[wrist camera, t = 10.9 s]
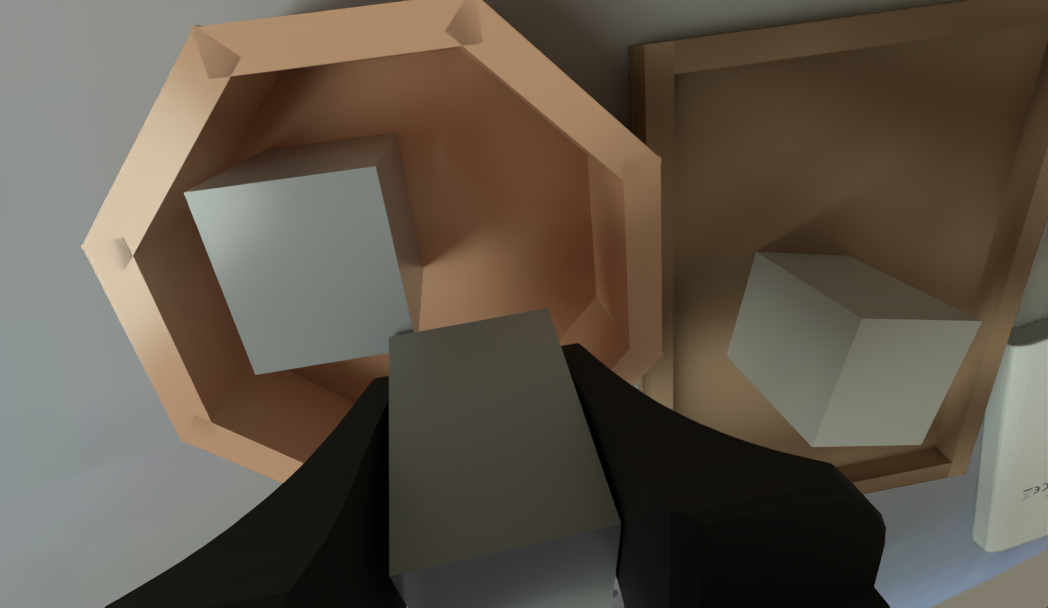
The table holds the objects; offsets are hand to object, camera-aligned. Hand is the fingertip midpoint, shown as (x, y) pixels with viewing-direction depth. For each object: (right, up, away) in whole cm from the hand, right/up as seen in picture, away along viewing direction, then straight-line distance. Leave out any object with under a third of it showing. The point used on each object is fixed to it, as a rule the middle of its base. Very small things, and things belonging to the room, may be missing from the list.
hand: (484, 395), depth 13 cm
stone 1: (-4, +5, +3) cm, 7 cm away
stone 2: (0, 0, 0) cm, 0 cm away
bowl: (-2, +4, +4) cm, 6 cm away
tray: (+12, +2, +7) cm, 14 cm away
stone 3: (+10, +2, +6) cm, 12 cm away
